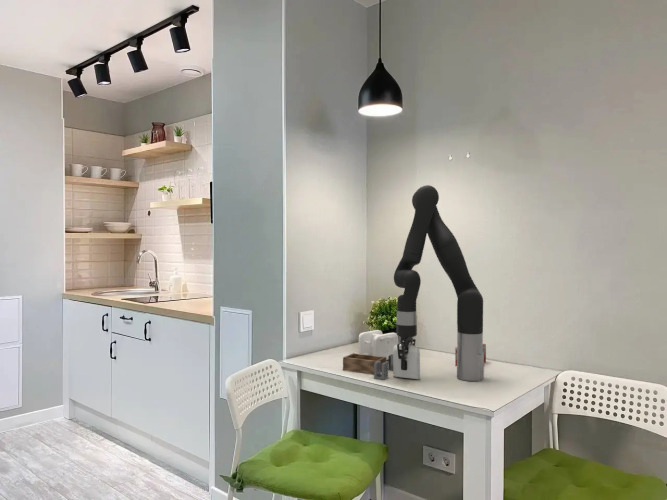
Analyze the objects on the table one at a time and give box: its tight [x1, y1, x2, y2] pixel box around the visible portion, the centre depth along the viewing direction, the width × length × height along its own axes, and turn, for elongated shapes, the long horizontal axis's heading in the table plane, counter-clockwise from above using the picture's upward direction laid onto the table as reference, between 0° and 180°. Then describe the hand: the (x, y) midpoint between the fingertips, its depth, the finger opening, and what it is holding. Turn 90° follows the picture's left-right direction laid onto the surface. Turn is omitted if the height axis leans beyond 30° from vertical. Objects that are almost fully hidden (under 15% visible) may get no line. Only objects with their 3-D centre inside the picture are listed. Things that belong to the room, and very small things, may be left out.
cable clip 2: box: [387, 354, 393, 372], centre depth 210 cm, size 4×4×6 cm
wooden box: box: [342, 352, 387, 375], centre depth 210 cm, size 15×9×5 cm, turn 62°
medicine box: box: [454, 343, 487, 367], centre depth 221 cm, size 15×8×8 cm, turn 145°
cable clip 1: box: [373, 361, 389, 380], centre depth 198 cm, size 4×4×6 cm
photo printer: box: [392, 345, 421, 380], centre depth 198 cm, size 10×4×12 cm, turn 64°
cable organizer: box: [358, 329, 399, 361], centre depth 229 cm, size 15×11×12 cm
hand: (406, 368), depth 198 cm, fingers closed on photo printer, 4 cm apart
